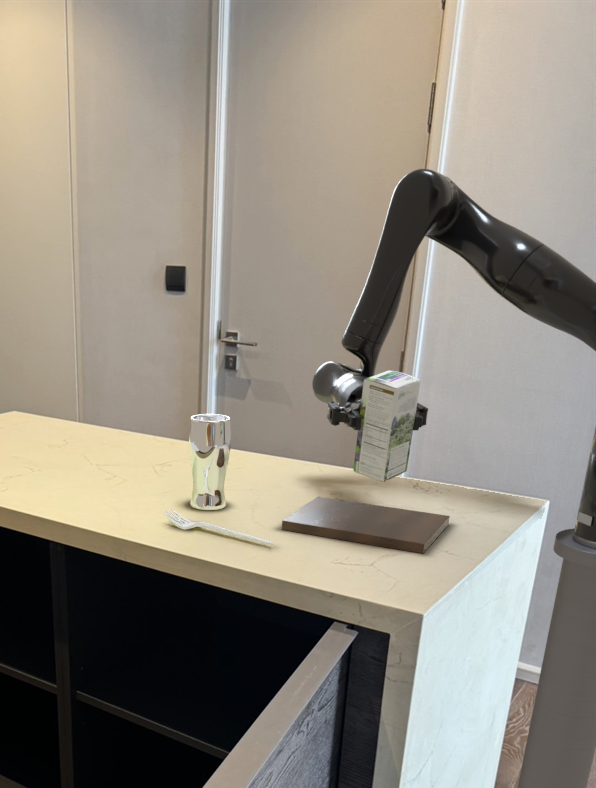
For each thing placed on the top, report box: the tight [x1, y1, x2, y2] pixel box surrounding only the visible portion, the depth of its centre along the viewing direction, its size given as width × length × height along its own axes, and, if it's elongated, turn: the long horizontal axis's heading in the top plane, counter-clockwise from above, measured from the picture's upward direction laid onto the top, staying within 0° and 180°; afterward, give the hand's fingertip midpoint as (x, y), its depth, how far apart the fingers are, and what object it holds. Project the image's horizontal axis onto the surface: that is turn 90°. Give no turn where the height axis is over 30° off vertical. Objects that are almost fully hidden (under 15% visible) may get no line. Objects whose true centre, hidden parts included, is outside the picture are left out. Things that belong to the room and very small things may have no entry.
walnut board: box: [281, 496, 451, 554], centre depth 136 cm, size 22×16×2 cm
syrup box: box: [352, 369, 421, 483], centre depth 125 cm, size 6×6×14 cm
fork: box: [162, 508, 274, 547], centre depth 133 cm, size 3×20×2 cm, turn 49°
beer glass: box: [188, 413, 232, 511], centre depth 145 cm, size 7×7×15 cm
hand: (387, 423), depth 124 cm, fingers closed on syrup box, 8 cm apart
